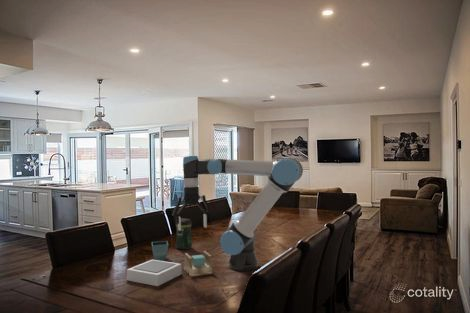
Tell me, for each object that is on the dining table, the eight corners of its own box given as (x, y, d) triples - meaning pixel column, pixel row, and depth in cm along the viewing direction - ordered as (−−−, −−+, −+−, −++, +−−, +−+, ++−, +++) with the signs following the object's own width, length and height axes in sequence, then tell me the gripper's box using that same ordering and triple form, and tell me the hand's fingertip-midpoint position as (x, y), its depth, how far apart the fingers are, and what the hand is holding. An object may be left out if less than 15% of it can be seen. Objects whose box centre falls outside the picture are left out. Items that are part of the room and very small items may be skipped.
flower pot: (152, 262, 194) (152, 245, 194) (151, 257, 203) (151, 241, 203) (168, 260, 197) (168, 244, 197) (167, 256, 205) (167, 240, 205)
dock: (181, 274, 174) (181, 263, 174) (157, 286, 158) (157, 274, 158) (152, 269, 182) (152, 258, 182) (126, 280, 166) (126, 268, 166)
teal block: (201, 262, 181) (201, 254, 181) (204, 265, 176) (204, 257, 176) (191, 263, 179) (191, 255, 179) (194, 266, 174) (194, 258, 174)
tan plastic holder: (204, 266, 185) (204, 250, 185) (212, 273, 174) (212, 256, 174) (184, 269, 181) (184, 252, 181) (190, 276, 170) (190, 259, 170)
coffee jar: (193, 247, 225) (193, 218, 225) (185, 250, 218) (185, 220, 218) (182, 245, 230) (181, 216, 230) (173, 248, 223) (173, 218, 223)
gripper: (211, 184, 189) (213, 224, 188) (165, 187, 178) (166, 230, 178) (217, 185, 182) (218, 227, 182) (168, 188, 171) (170, 232, 171)
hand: (192, 228), depth 180 cm, fingers open, 13 cm apart
